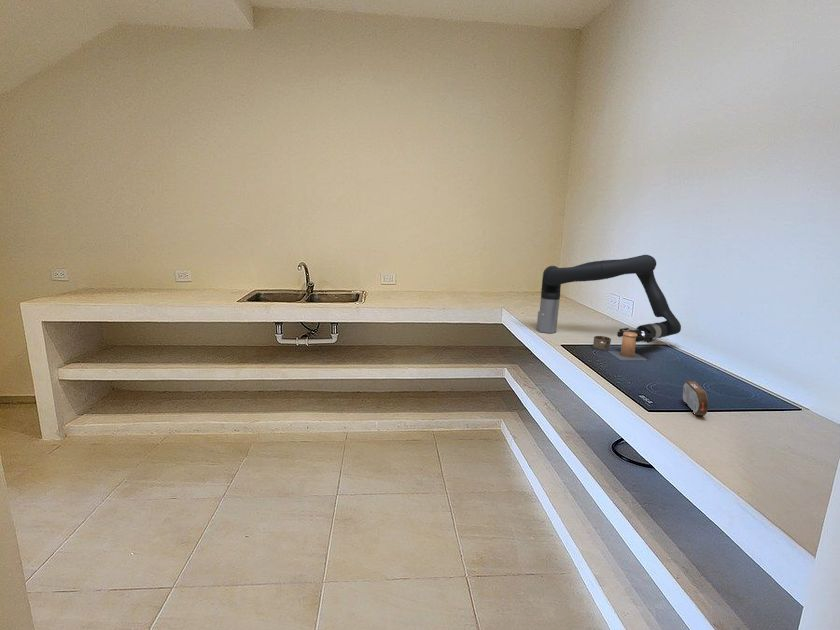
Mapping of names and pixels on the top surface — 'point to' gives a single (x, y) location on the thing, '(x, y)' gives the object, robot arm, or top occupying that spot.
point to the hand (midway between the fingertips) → (627, 337)
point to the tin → (695, 397)
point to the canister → (601, 343)
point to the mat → (622, 358)
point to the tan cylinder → (628, 344)
